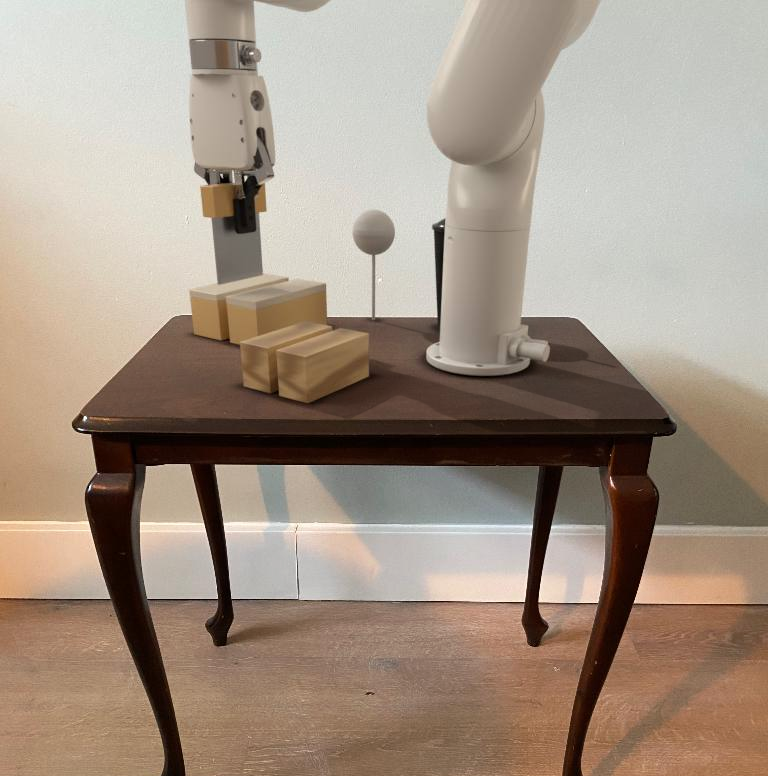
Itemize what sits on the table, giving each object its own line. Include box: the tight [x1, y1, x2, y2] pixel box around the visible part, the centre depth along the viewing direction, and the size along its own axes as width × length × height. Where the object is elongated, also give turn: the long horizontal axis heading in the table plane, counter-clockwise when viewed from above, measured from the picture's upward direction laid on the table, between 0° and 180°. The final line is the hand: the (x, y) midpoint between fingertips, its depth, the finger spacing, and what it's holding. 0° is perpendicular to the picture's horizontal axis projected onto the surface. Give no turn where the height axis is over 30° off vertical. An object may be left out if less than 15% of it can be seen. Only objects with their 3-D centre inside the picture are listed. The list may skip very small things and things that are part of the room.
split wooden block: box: [239, 321, 370, 404], centre depth 81 cm, size 9×11×5 cm
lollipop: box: [352, 209, 396, 321], centre depth 103 cm, size 6×6×15 cm
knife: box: [199, 182, 267, 285], centre depth 93 cm, size 2×9×12 cm, turn 146°
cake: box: [188, 272, 328, 346], centre depth 100 cm, size 12×14×6 cm
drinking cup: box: [431, 217, 446, 330], centre depth 98 cm, size 8×8×20 cm
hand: (237, 230), depth 93 cm, fingers closed on knife, 2 cm apart
